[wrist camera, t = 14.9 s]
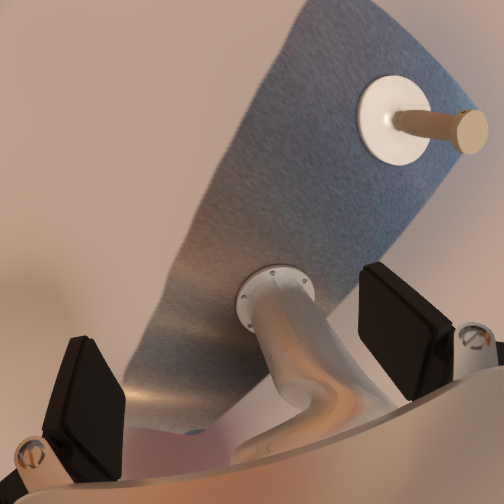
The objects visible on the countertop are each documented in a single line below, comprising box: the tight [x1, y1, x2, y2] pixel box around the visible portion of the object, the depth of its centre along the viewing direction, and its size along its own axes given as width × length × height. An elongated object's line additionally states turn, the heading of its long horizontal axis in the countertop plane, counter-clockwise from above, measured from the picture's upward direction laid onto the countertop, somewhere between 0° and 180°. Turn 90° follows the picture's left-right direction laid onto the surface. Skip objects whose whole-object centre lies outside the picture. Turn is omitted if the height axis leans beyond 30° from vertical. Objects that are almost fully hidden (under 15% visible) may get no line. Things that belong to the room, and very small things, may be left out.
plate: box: [356, 76, 431, 165], centre depth 42 cm, size 14×14×2 cm
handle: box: [392, 109, 488, 154], centre depth 35 cm, size 5×6×15 cm
